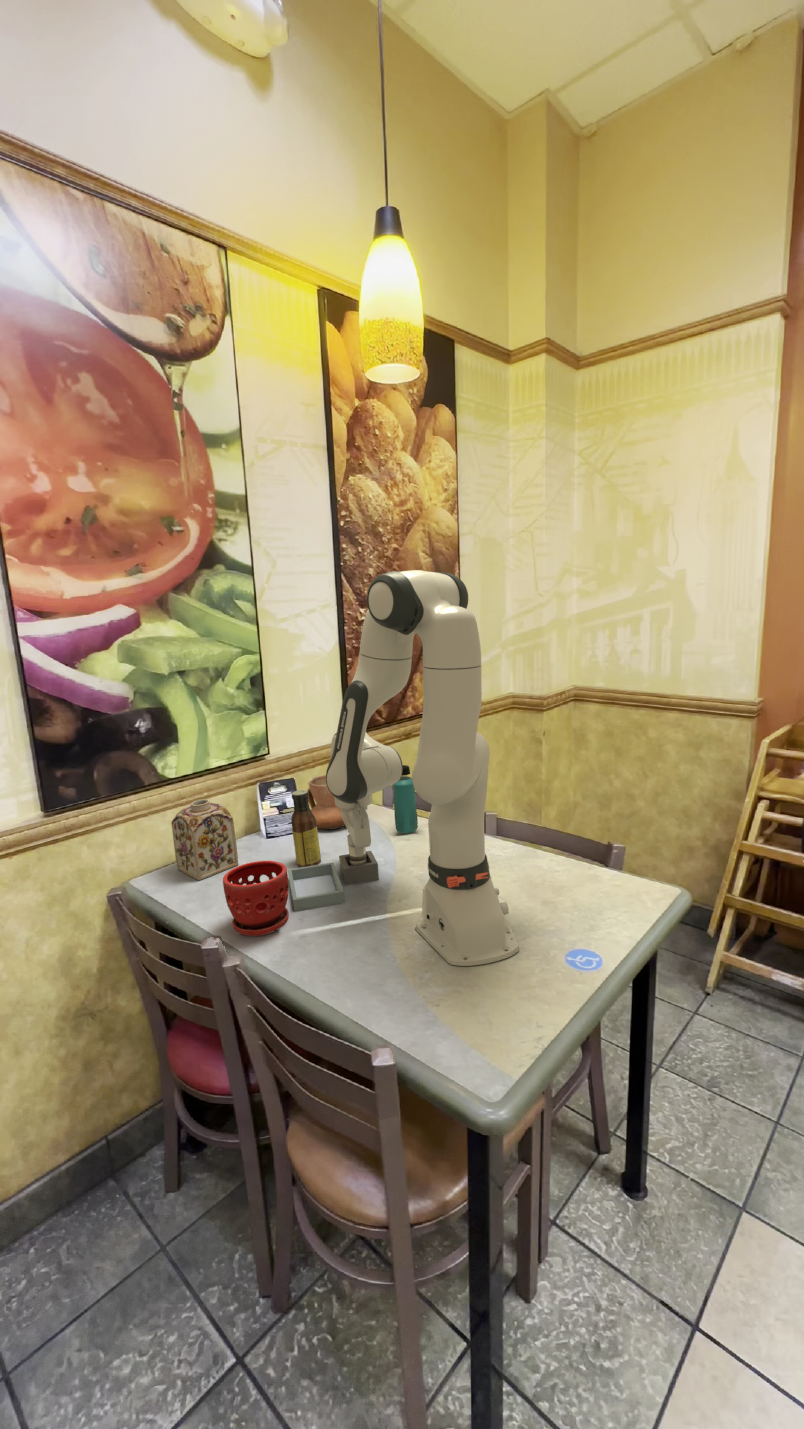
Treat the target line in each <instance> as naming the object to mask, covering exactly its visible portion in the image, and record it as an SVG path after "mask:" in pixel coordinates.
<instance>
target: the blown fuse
mask: <svg viewBox="0 0 804 1429" xmlns="http://www.w3.org/2000/svg"><path fill="white" fill-rule="evenodd" d="M347 846H348V852H349V853H348V854H349V859H350V866H352V865H358V864H365V863H367V861H366V848H367V847H364V849H363V851H364V855H363V856H362V857H357V856H356V854H355V845H354V843H353V841H352V839H351V836H350V834H349V833H348V835H347Z"/></svg>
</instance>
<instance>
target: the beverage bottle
mask: <svg viewBox="0 0 804 1429" xmlns="http://www.w3.org/2000/svg"><path fill="white" fill-rule="evenodd" d="M410 769H411V768H410V766H409V765H407V764H406V765H405V764H403V772H402V776H401V778H400V780H399V781H398V782H397V783H395V784H394V785H392V792H393V810H394V816H393V817H394V825H395V830H396V832H397V833H400V834H410V833H413V832H416V831H417V830H418V827H419V823H418V822H419V821H418V820H419V819H418V812H417V811H418V810H417V798H416V790H415V789H414V786H413V783H412V776H408V775H410V774H411V770H410Z"/></svg>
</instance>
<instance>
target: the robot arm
mask: <svg viewBox="0 0 804 1429" xmlns="http://www.w3.org/2000/svg"><path fill="white" fill-rule="evenodd" d="M468 592H469V591H468V589H467V586H466V585H465V583H464V582H463V580H462V579H461V578H459V577H458V576H456V575H455V574H452V573H447V572H443V571H440V572H434V571H425V570H423V569H421V570H420V569H415V570H413V569H412V570H403V571H397V570H393V571H387V572H384V573H382V574H380V575H378V576H376V577H375V578H374V579H373V580H372V581H371V583H370V584H369V587H368V590H367V594H366V604H367V610H366V613H365V616H364V620H363V625H362V630H361V636H360V644H359V655H358V661H357V662H358V663H357V666H356V670H355V673H354V675H353V678H352V680H351V682H350V684H349V685H348V686H347V688H346V690H345V693H344V696H343V698H342V699H343V700H342V705H341V710H340V712H339V713H340V714H339V717H338V718H339V719H338V725H337V730H336V733H334V734H333V736H332V739H331V745H330V760H329V762H328V765H327V768H326V773H325V775H326V784H327V787H328V789H329V791H330V792H331V794H332V795H333V796H334V798H335V805H336V806H337V807H339V808H340V812H341V816H342V820H343V822H344V824H345V828H346V829H347V832H348V835H349V834H350V836H351V839H352V841H353V843H354V845H355V854H356V856H357V857H362V856H363V855H364V851H363V849H364V847H366V848H368V847H369V848H370V847H371V845H372V837H371V825H370V819H369V814H368V813H367V810H369V809H368V806H370V805H371V804H372V803H373V794H375V793H378V792H380V791H383V790H384V789H386V788H390V787H393V785H394V784H395V783H397V782H398V781H399V780H400V778H401V776H402V772H403V765H404V764H403V761H402V758H401V755H400V753H398V751H397V750H396V749H395V748H393V746H391V745H389V744H387V745H386V744H382V743H381V742H379V741H377V740H375V739H373V738H372V737H370V735H369V734H368V733H367V727H368V724H369V721H370V719H371V717H372V716H373V714H375V712H376V711H377V710H378V709H379V708H380V707H382V705H383V704H385V703H386V702H387V701H389V700H390V699H392V698H394V697H395V696H397V695H398V694H399V693H400V692H401V691H402V690H403V689H404V688H405V687H406V686H407V684H408V681H409V679H410V675H411V671H412V661H413V660H412V659H413V646H414V645H413V644H414V643H413V642H414V638H415V634H416V635H418V636H419V639H420V641H421V644H422V689H423V690H422V691H423V693H422V695H423V704H422V705H423V708H422V717H421V725H420V730H419V737H418V745H417V752H416V760H415V764H414V766H413V768H412V769H413V770H412V772H411V778H412V783H413V786H414V789H415V793H416V794H417V795H418V796H419V797H420V799H422V800H424V801H425V802H427V803H429V804H431V807H430V808H431V809H430V811H429V816H428V823H427V824H428V825H427V826H428V843H429V844H428V845H429V856H428V857H427V858H428V859H427V870H428V876H429V878H428V880H427V882H426V883H425V885H424V886H423V888H422V896H421V897H422V898H421V899H422V900H421V901H422V911H421V912H422V913H421V914H422V915H421V916H422V918H421V919H419V920H418V921H417V922H416V923H415V930H416V931H417V933H419V935H421V936H422V938H423V939H425V941H427V943H428V944H429V945H430V946H431V947H432V948H433V949H434V950H436V952H437V953H438V954H439V955H440V956H441V957H442V958H443V959H444V960H445V961H446V962H447V963H449V964H450V965H452V966H459V967H460V966H461V967H465V966H466V967H469V966H479V965H480V966H481V965H485V964H490V963H495V962H498V961H501V960H505V959H507V958H510V957H512V956H514V955H515V954H517V952H519V950H520V949H519V943H518V940H517V939H516V936H515V934H514V932H513V930H512V927H511V925H510V923H509V919H508V918H507V916H506V915H509V912H510V911H509V905H508V903H507V902H506V901H505V902H503V901H502V902H500V900H499V897H498V896H500V890H499V887H498V888H495V886H494V882H493V881H492V876H491V873H490V864H489V861H488V856H487V854H486V848H485V845H486V843H485V813H486V812H485V810H486V804H487V790H488V778H489V764H490V754H491V749H490V745H489V742H488V741H487V739H486V738H485V737H484V736H483V735H482V734H481V733H480V732H478V726H479V719H480V714H481V710H482V699H483V698H482V649H481V641H480V633H479V628H478V623H477V620H476V616H475V615H474V613H472V611H470V610H469V609H468V605H469V593H468Z"/></svg>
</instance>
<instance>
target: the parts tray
mask: <svg viewBox="0 0 804 1429" xmlns="http://www.w3.org/2000/svg"><path fill="white" fill-rule="evenodd" d="M287 874H288V884H289V887H290V893H291V894H290V895H291V899H292V904H293V911H294V912H299V911H301V910H303V911H304V910H308V909H309V910H310V909H314V908H315V909H316V908H320V907H321V908H322V907H324V906H331V905H337V904H343V903H346V902H345V900H346V899H345V891H344V888H343V885H342V883H341V879H340V877H339V875H338V871H337V869H336V866H335V864H334V862H327V863H322V864H321V863H320V864H318V865H314V866H308V867H297V868H296V867H295V868H290V869H287ZM327 875H328V876H329V875H331V876H332V880H333V882H334V886H335V888H336V890H335V891H327V892H323V893H317V894H312V895H307V896H299V897H297V893H296V887H295V882H294V881H297V880H302V879H309V878H315V877H321V876H327Z"/></svg>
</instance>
